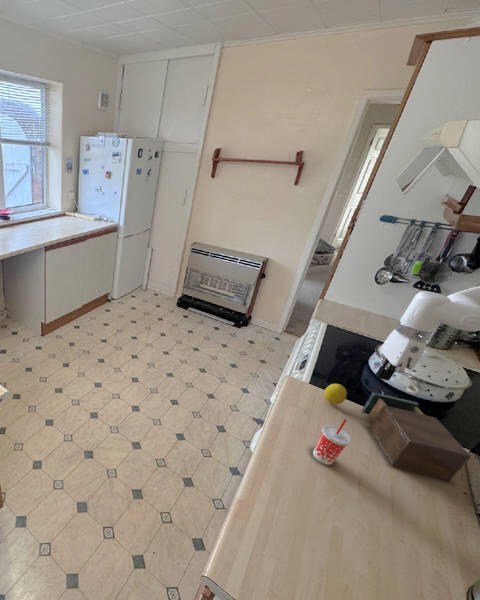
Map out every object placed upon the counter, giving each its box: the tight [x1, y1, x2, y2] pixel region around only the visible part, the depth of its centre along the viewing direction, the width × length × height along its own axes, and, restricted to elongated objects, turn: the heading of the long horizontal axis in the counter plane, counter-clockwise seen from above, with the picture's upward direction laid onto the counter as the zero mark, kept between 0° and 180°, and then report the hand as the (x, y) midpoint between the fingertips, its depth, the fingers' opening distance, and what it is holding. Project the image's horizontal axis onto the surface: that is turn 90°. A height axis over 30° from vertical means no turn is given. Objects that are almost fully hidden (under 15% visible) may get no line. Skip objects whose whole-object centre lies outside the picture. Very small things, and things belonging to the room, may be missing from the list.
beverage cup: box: [312, 419, 352, 466], centre depth 85 cm, size 6×6×14 cm
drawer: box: [361, 391, 425, 423], centre depth 97 cm, size 17×11×8 cm
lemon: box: [323, 383, 348, 405], centre depth 106 cm, size 6×6×8 cm
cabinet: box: [368, 405, 472, 482], centre depth 89 cm, size 14×13×10 cm
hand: (381, 377), depth 106 cm, fingers closed
